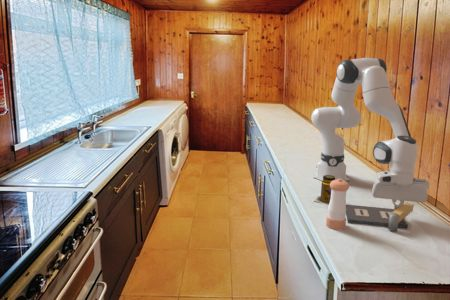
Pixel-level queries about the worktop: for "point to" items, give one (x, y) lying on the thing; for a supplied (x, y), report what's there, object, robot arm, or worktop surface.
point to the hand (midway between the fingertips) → (396, 209)
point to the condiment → (325, 190)
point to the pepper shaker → (337, 205)
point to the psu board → (371, 216)
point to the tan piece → (399, 215)
